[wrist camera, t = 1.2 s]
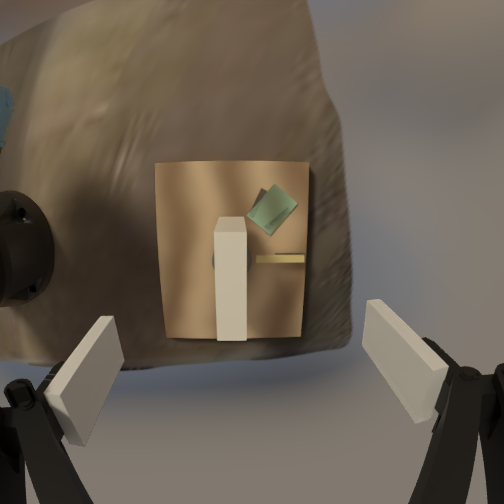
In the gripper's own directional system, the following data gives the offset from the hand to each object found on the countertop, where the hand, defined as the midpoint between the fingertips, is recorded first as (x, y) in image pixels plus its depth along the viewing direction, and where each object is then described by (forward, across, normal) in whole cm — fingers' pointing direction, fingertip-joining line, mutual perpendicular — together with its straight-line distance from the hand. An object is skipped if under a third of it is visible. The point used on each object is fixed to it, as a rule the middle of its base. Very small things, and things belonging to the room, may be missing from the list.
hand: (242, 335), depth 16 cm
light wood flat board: (+20, 0, -1) cm, 21 cm away
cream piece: (+19, +2, -1) cm, 19 cm away
